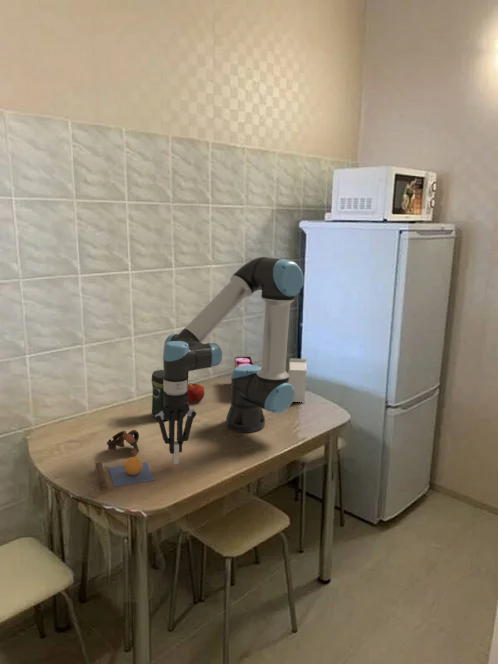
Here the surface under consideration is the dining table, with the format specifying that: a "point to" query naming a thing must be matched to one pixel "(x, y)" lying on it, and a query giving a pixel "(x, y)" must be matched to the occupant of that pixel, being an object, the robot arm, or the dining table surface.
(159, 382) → the coffee jar
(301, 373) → the milk carton
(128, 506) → the dining table surface
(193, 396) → the tomato
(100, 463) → the stopper strip
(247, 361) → the gum box
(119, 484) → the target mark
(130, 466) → the ball
